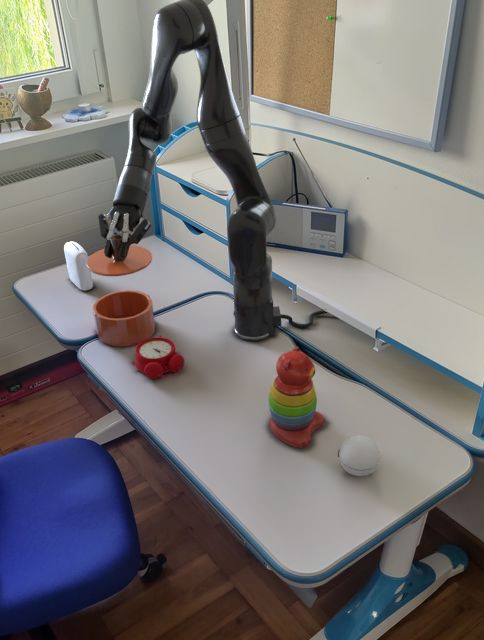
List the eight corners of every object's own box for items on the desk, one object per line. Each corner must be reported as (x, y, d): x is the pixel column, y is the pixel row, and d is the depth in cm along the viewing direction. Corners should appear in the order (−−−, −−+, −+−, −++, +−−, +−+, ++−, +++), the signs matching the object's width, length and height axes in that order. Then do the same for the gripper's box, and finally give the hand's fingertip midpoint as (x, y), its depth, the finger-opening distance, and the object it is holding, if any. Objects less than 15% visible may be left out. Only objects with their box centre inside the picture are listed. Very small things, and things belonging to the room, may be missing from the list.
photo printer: (67, 279, 192) (60, 240, 185) (81, 275, 194) (74, 236, 187) (81, 292, 185) (74, 252, 178) (95, 288, 187) (88, 248, 180)
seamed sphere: (354, 451, 126) (357, 421, 122) (386, 470, 121) (390, 440, 117) (319, 476, 121) (320, 446, 117) (351, 498, 116) (353, 468, 112)
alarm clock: (165, 330, 159) (189, 347, 146) (169, 354, 161) (194, 373, 148) (124, 342, 155) (146, 361, 142) (129, 366, 158) (151, 387, 145)
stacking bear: (305, 451, 127) (307, 376, 117) (258, 434, 131) (257, 361, 122) (327, 419, 134) (332, 346, 124) (283, 404, 139) (284, 333, 129)
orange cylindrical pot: (145, 310, 175) (142, 285, 171) (162, 337, 163) (159, 311, 159) (91, 323, 171) (87, 298, 167) (105, 351, 159) (100, 325, 155)
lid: (141, 244, 166) (138, 219, 162) (161, 269, 154) (158, 243, 150) (81, 257, 161) (76, 232, 158) (95, 284, 149) (91, 257, 145)
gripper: (100, 180, 156) (81, 248, 154) (152, 185, 151) (133, 256, 149) (114, 193, 163) (96, 259, 161) (165, 199, 158) (147, 267, 156)
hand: (114, 257), depth 155 cm, fingers closed on lid, 3 cm apart
